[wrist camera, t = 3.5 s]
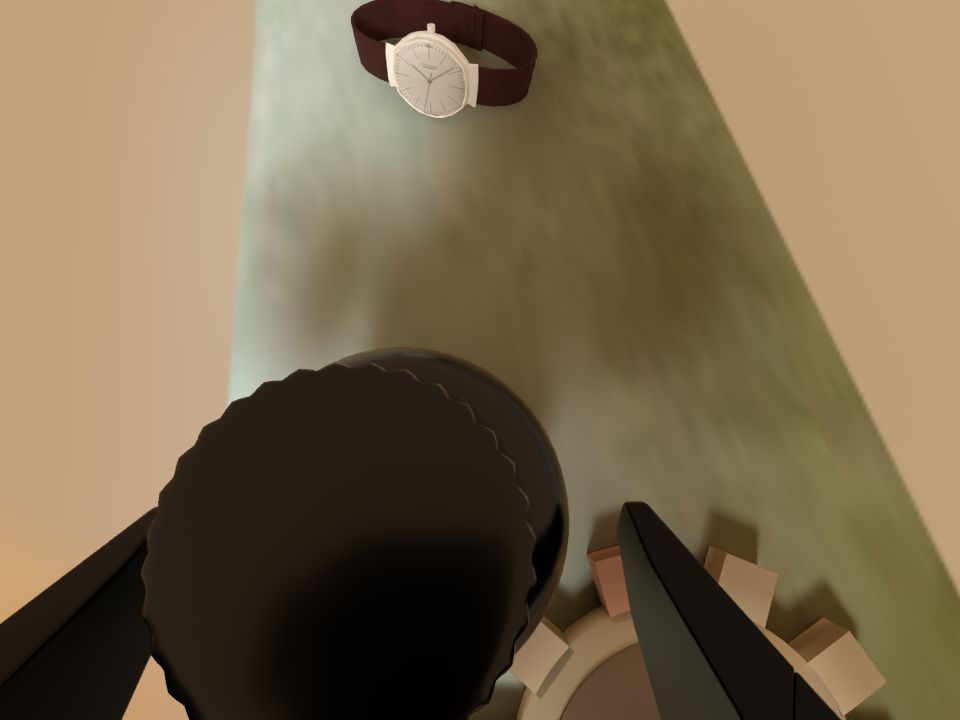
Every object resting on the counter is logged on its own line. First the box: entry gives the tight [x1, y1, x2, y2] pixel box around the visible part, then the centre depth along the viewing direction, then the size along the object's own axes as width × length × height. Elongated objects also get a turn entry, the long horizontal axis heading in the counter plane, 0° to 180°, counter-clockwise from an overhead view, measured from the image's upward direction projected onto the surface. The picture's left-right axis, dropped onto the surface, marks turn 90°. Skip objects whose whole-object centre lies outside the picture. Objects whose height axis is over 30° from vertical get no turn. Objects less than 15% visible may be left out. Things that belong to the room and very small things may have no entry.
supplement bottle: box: [140, 347, 569, 720], centre depth 11 cm, size 7×7×12 cm
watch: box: [351, 0, 537, 118], centre depth 19 cm, size 8×5×4 cm, turn 74°
